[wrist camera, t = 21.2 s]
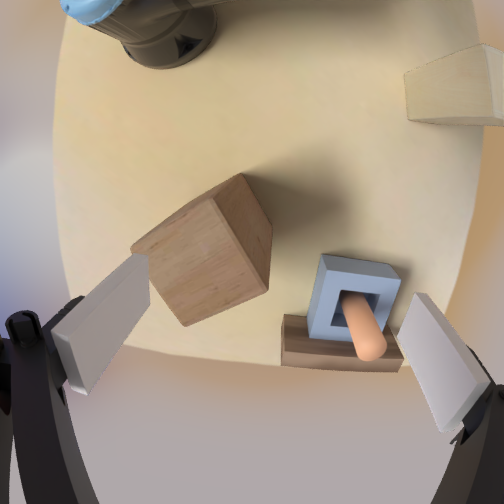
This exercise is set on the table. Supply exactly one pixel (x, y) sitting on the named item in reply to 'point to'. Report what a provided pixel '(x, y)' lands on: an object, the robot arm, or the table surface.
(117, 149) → the table surface
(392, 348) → the wall
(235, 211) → the wooden block
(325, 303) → the socket block
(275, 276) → the table surface
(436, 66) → the toy refrigerator
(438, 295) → the table surface
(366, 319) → the dowel
